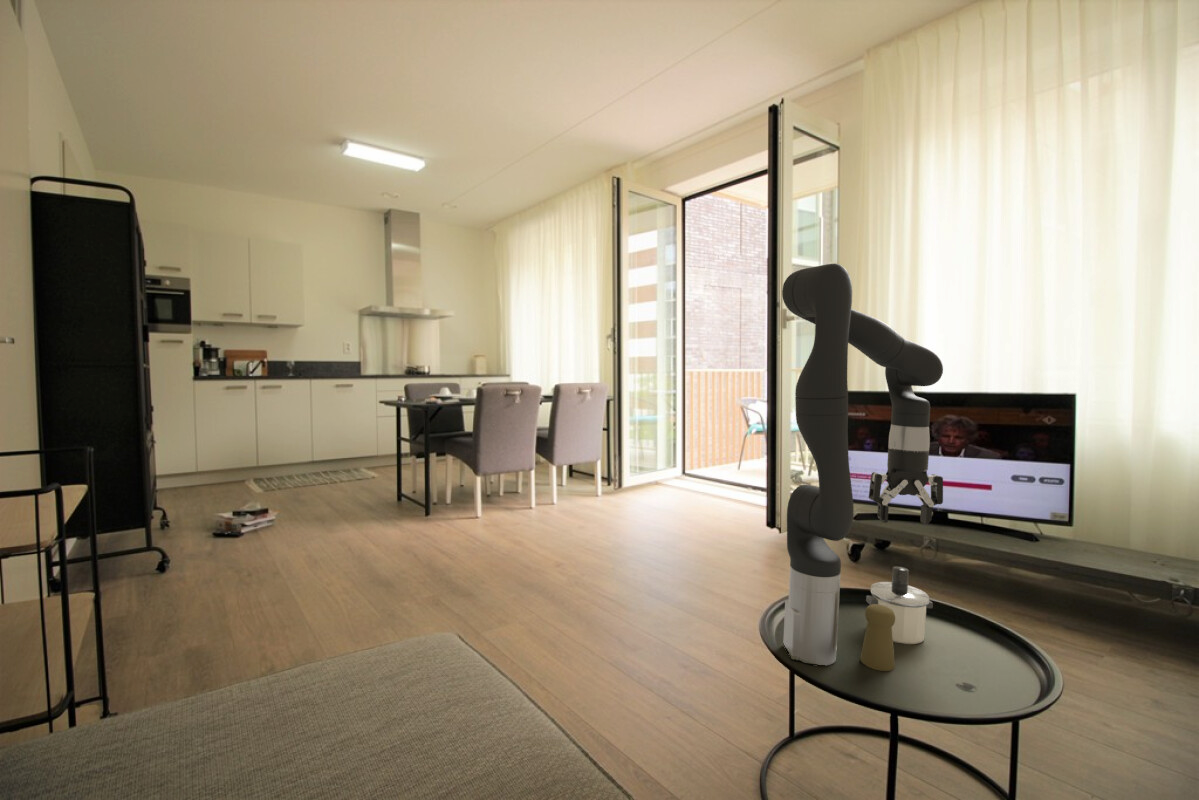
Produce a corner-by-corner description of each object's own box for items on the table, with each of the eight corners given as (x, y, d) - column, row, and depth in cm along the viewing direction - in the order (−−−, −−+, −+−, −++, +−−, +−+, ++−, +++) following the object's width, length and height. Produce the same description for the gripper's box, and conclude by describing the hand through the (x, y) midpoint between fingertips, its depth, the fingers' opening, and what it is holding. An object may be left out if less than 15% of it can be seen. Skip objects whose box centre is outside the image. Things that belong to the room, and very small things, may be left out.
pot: (877, 642, 115) (879, 605, 114) (857, 620, 125) (859, 586, 124) (940, 645, 114) (943, 607, 114) (915, 623, 124) (917, 588, 124)
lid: (884, 606, 114) (886, 577, 113) (862, 585, 125) (863, 559, 124) (939, 608, 113) (941, 579, 113) (912, 587, 124) (913, 561, 124)
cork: (853, 658, 108) (856, 603, 108) (874, 652, 111) (877, 598, 110) (880, 673, 103) (883, 616, 102) (902, 667, 105) (905, 610, 105)
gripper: (933, 445, 120) (928, 519, 121) (866, 443, 121) (862, 516, 122) (953, 450, 113) (948, 529, 114) (882, 448, 113) (877, 526, 114)
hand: (903, 522), depth 118 cm, fingers open, 8 cm apart
